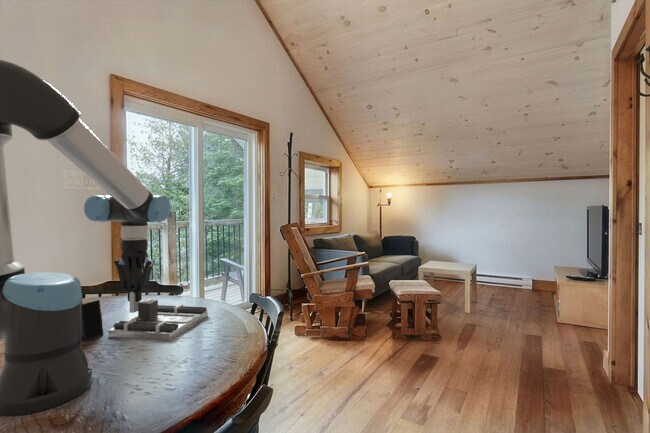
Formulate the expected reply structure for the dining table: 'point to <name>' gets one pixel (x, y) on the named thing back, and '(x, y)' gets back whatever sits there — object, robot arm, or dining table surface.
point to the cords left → (146, 325)
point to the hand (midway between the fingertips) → (134, 311)
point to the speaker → (91, 320)
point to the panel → (180, 318)
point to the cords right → (181, 309)
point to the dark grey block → (147, 309)
